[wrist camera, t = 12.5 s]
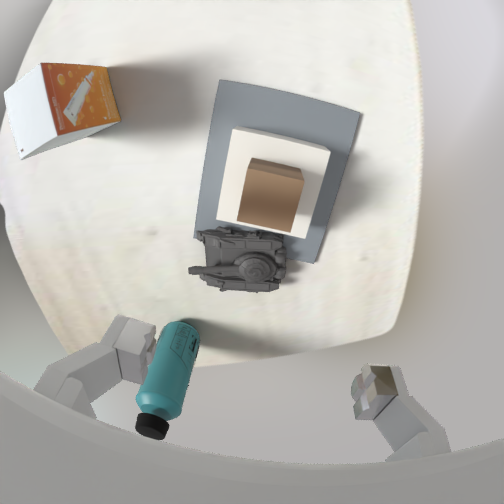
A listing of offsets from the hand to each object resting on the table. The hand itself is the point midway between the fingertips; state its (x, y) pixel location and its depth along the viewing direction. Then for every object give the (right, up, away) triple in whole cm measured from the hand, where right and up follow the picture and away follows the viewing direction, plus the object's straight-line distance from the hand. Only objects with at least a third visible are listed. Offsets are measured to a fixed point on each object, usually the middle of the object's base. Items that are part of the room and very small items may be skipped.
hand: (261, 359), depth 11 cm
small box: (-20, +23, +20) cm, 37 cm away
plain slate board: (+2, +13, +24) cm, 27 cm away
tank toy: (-2, +4, +30) cm, 30 cm away
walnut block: (+2, +11, +20) cm, 23 cm away
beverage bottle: (-11, -8, +37) cm, 39 cm away
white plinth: (+2, +13, +24) cm, 27 cm away
